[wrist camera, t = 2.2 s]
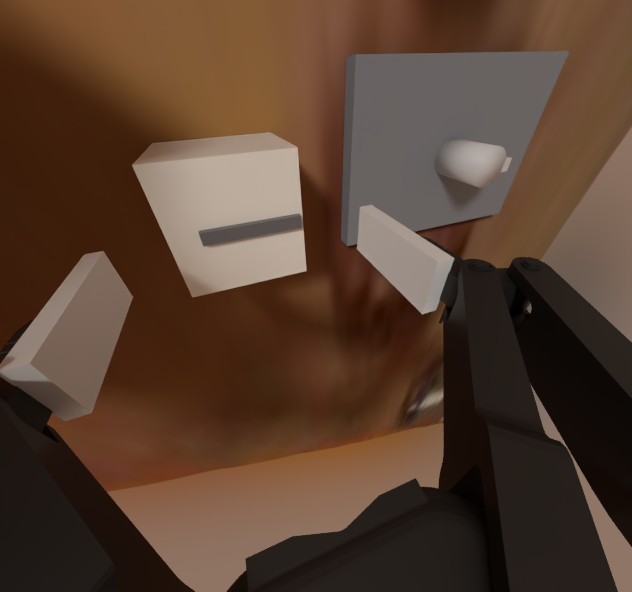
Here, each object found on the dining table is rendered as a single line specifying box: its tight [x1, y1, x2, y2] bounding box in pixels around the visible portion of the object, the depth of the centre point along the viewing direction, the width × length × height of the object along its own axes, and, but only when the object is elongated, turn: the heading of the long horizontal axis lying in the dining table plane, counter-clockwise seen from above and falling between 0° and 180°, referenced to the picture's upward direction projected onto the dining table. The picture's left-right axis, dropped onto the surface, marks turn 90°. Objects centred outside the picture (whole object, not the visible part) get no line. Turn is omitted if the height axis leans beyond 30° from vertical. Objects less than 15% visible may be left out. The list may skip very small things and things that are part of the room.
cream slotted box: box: [132, 132, 307, 298], centre depth 18 cm, size 8×8×7 cm
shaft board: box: [341, 51, 569, 246], centre depth 22 cm, size 20×14×6 cm
